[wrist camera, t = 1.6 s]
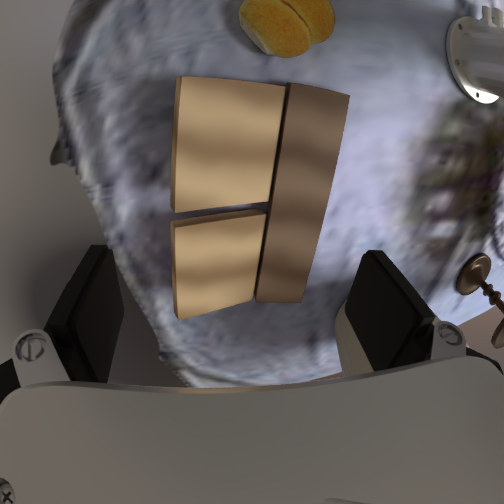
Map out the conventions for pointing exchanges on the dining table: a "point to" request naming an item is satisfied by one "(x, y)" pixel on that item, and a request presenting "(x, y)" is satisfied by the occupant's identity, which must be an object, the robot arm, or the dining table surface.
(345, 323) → the canister
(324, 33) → the bread roll
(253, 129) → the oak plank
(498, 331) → the candlestick
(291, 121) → the walnut floor strip
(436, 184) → the dining table surface
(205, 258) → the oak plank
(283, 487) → the robot arm
